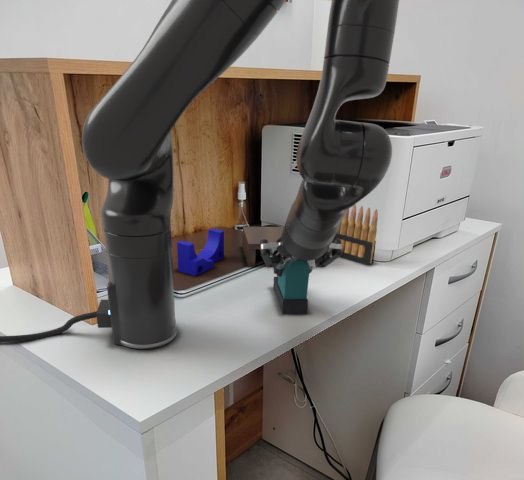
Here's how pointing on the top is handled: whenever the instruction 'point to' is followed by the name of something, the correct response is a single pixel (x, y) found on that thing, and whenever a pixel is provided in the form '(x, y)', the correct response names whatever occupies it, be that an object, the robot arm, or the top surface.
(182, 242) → the blue u-shaped cradle
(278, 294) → the teal block on base
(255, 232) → the walnut shelf
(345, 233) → the ammunition clip
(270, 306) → the top surface
